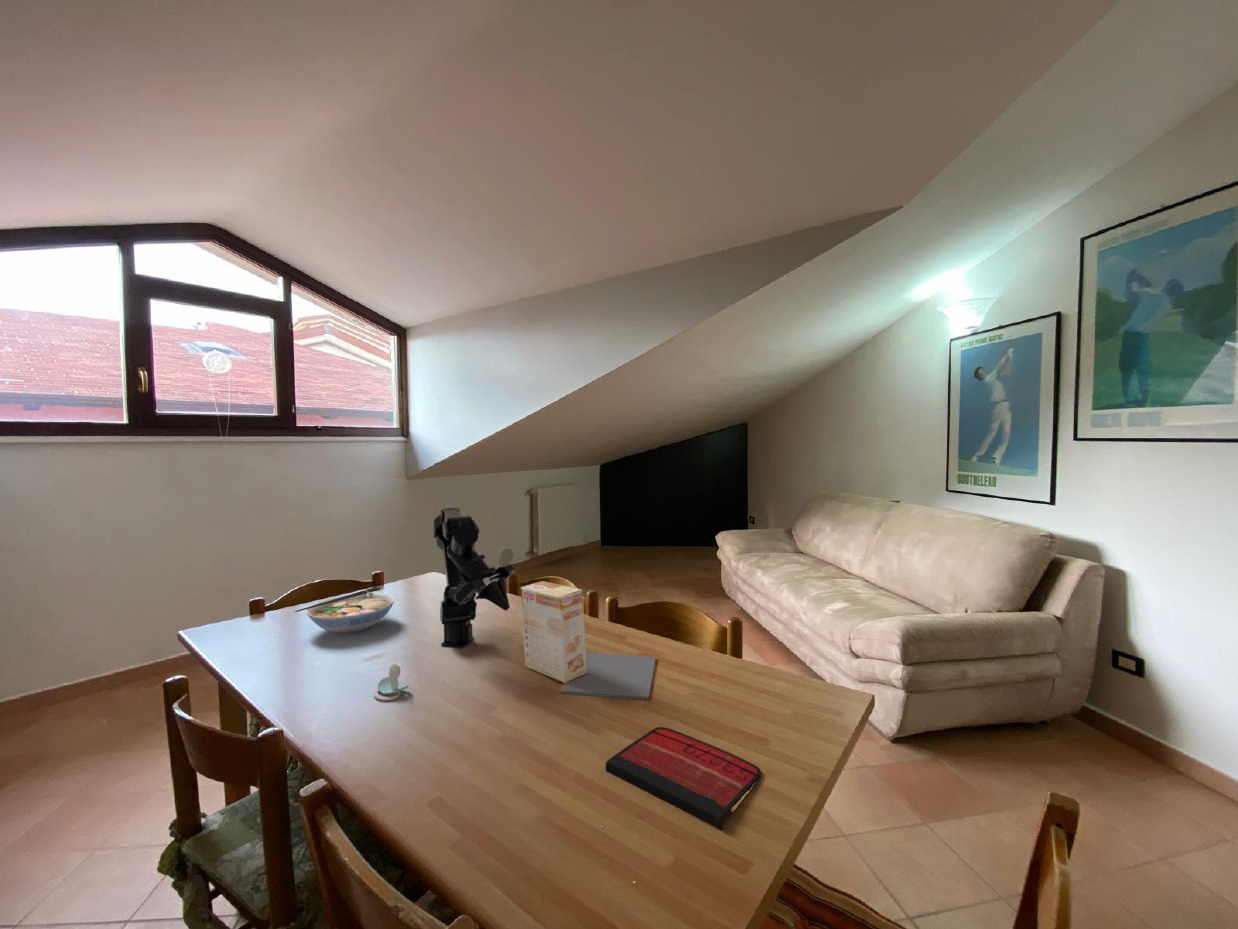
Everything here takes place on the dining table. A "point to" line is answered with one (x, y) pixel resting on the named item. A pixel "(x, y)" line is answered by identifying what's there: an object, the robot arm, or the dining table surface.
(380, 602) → the ramen bowl
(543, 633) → the coffeecake box
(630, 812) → the dining table surface
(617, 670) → the mat
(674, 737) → the binder
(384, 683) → the pacifier
